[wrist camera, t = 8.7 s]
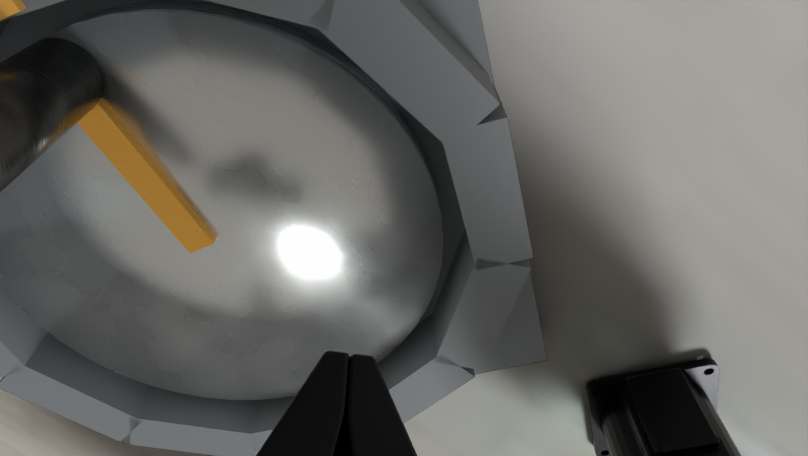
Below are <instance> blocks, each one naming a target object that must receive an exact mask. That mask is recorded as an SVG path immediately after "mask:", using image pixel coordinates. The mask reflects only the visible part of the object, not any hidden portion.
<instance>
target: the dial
mask: <svg viewBox="0 0 808 456" xmlns="http://www.w3.org/2000/svg"><path fill="white" fill-rule="evenodd" d="M442 254H443V230H442V218H441V210H440V202H439V195H438V191H437V187H436V183H435V179H434V174H433V170H432V168H431V166H430V163H429V161H428V158H427V156H426V153H425V151H424V148H423V146H422V144H421V142H420V141H419V139H418V137H417V135H416V134H415V132H414V130H413V129H412V127H411V125H410V123H409V122H408V120H407V119H406V117H405V116H404V115H403V114H402V112H401V111H400V110H399V108H398V107H397V106H396V105H395V103H394V102H393V101H392V100H391V98H390V97H389V96H388V95H387V94H386V93H385V92H384V91H383V90H382V89H381V88H380V87H379V86H378V85H377V84H376V83H375V82H374V81H373V80H372V79H371V78H370V77H369V76H368V75H367V74H366V73H365V72H364V71H363V70H361V69H360V68H359V67H357V66H356V65H355V64H353V63H352V62H351V61H349V60H348V59H347V58H345V57H344V56H343V55H342V54H340V53H339V52H338V51H336V50H335V49H333V48H331V47H329V46H328V45H326V44H324V43H322V42H321V41H319V40H317V39H316V38H314V37H312V36H310V35H309V34H307V33H305V32H303V31H301V30H298V29H296V28H294V27H291V26H289V25H287V24H284V23H282V22H280V21H277V20H275V19H273V18H270V17H267V16H263V15H260V14H256V13H253V12H249V11H246V10H242V9H239V8H235V7H230V6H224V5H217V4H211V3H205V2H198V1H161V0H159V1H151V2H143V3H134V4H126V5H121V6H117V7H114V8H110V9H107V10H103V11H99V12H96V13H92V14H89V15H87V16H85V17H83V18H81V19H78V20H76V21H74V22H72V23H70V24H68V25H65V26H63V27H61V28H59V29H58V30H56V31H54V32H52V33H51V34H49V35H47V36H45V37H44V38H42V39H40V40H38V41H37V42H35V43H33V44H31V45H30V46H28V47H26V48H25V49H23V50H21V51H19V52H18V53H16V54H14V55H12V56H11V57H9V58H7V59H5V60H4V61H2V62H0V285H1V286H2V287H3V288H4V289H5V291H6V292H7V293H8V294H9V295H10V296H11V298H12V299H13V300H14V301H15V302H16V303H17V305H18V306H19V307H20V308H22V309H23V310H24V311H25V312H26V313H27V314H28V315H29V316H30V317H31V318H32V319H33V320H34V321H35V322H36V323H38V324H39V325H40V326H41V327H42V328H44V329H45V330H46V331H48V332H49V333H50V334H52V335H53V336H54V337H55V338H57V339H58V340H59V341H61V342H62V343H64V344H65V345H67V346H68V347H70V348H72V349H73V350H75V351H76V352H78V353H79V354H81V355H82V356H84V357H86V358H88V359H90V360H92V361H94V362H96V363H98V364H99V365H101V366H103V367H105V368H107V369H109V370H112V371H114V372H116V373H119V374H121V375H123V376H126V377H128V378H130V379H133V380H136V381H139V382H142V383H145V384H148V385H151V386H154V387H157V388H161V389H165V390H169V391H173V392H177V393H181V394H187V395H193V396H199V397H205V398H214V399H226V400H264V399H276V398H285V397H290V396H296V394H297V393H298V391H299V390H300V388H301V386H302V385H303V383H304V382H305V380H306V379H307V377H308V376H309V374H310V373H311V371H312V370H313V368H314V367H315V365H316V364H317V362H318V361H319V359H320V358H321V356H322V355H323V353H324V352H325V351H327V350H333V351H340V352H346V353H348V354H349V357H350V355H351V354H354V353H355V354H362V355H369V356H372V357H374V358H375V360H376V362H377V363H378V362H379V361H381V360H382V359H384V358H385V357H386V356H387V355H389V354H390V353H391V352H392V351H393V350H394V349H395V348H396V347H398V346H399V345H400V344H401V343H402V342H403V341H404V340H405V338H406V337H407V336H408V335H409V334H410V333H411V331H412V330H413V329H414V328H415V327H416V325H417V324H418V322H419V321H420V319H421V317H422V316H423V314H424V313H425V311H426V309H427V308H428V305H429V303H430V301H431V298H432V296H433V294H434V291H435V289H436V286H437V282H438V278H439V274H440V270H441V266H442Z"/></svg>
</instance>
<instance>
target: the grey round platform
mask: <svg viewBox="0 0 808 456" xmlns="http://www.w3.org/2000/svg"><path fill="white" fill-rule="evenodd" d="M151 1H159V0H0V62H2V61H4V60H5V59H7V58H9V57H11V56H12V55H14V54H16V53H18V52H19V51H21V50H23V49H25V48H26V47H28V46H30V45H31V44H33V43H35V42H37V41H38V40H40V39H42V38H44V37H45V36H47V35H49V34H51V33H52V32H54V31H56V30H58V29H59V28H61V27H63V26H65V25H68V24H70V23H72V22H74V21H76V20H78V19H81V18H83V17H85V16H87V15H89V14H92V13H96V12H99V11H103V10H107V9H110V8H114V7H117V6H121V5H126V4H134V3H143V2H151ZM161 1H198V2H205V3H211V4H217V5H224V6H230V7H235V8H239V9H242V10H246V11H249V12H253V13H256V14H260V15H263V16H267V17H270V18H273V19H275V20H277V21H280V22H282V23H284V24H287V25H289V26H291V27H294V28H296V29H298V30H301V31H303V32H305V33H307V34H309V35H310V36H312V37H314V38H316V39H317V40H319V41H321V42H322V43H324V44H326V45H328V46H329V47H331V48H333V49H335V50H336V51H338V52H339V53H340V54H342V55H343V56H344V57H345V58H347V59H348V60H349V61H351V62H352V63H353V64H355V65H356V66H357V67H359V68H360V69H361V70H363V71H364V72H365V73H366V74H367V75H368V76H369V77H370V78H371V79H372V80H373V81H374V82H375V83H376V84H377V85H378V86H379V87H380V88H381V89H382V90H383V91H384V92H385V93H386V94H387V95H388V96H389V97H390V98H391V100H392V101H393V102H394V103H395V105H396V106H397V107H398V108H399V110H400V111H401V112H402V114H403V115H404V116H405V117H406V119H407V120H408V122H409V123H410V125H411V127H412V129H413V130H414V132H415V134H416V135H417V137H418V139H419V141H420V142H421V144H422V146H423V148H424V151H425V153H426V156H427V158H428V161H429V163H430V166H431V168H432V170H433V174H434V179H435V183H436V187H437V191H438V195H439V202H440V210H441V218H442V230H443V254H442V266H441V270H440V274H439V278H438V282H437V286H436V289H435V291H434V294H433V296H432V298H431V301H430V303H429V305H428V308H427V309H426V311H425V313H424V314H423V316H422V317H421V319H420V321H419V322H418V324H417V325H416V327H415V328H414V329H413V330H412V331H411V333H410V334H409V335H408V336H407V337H406V338H405V340H404V341H403V342H402V343H401V344H400V345H399V346H398V347H396V348H395V349H394V350H393V351H392V352H391V353H390V354H389V355H387V356H386V357H385V358H384V359H382V360H381V361H379V362H378V363H377V364H378V367H379V369H380V371H381V374H382V376H383V378H384V381H385V383H386V385H387V387H388V390H389V392H390V394H391V397H392V399H393V401H394V404H395V406H396V408H397V410H398V413H399V415H400V417H401V420H402V422H403V423H405V422H406V421H408V420H410V419H411V418H413V417H414V416H416V415H417V414H419V413H420V412H422V411H423V410H425V409H427V408H428V407H430V406H431V405H433V404H434V403H436V402H437V401H439V400H440V399H442V398H443V397H445V396H447V395H448V394H450V393H451V392H453V391H454V390H456V389H457V388H459V387H460V386H462V385H463V384H465V383H467V382H468V381H470V380H471V379H473V378H474V377H475V374H480V373H485V372H490V371H495V370H500V369H505V368H511V367H516V366H521V365H526V364H531V363H536V362H541V361H546V360H547V356H546V350H545V345H544V340H543V335H542V330H541V325H540V319H539V314H538V309H537V304H536V299H535V294H534V288H533V283H532V278H531V273H530V271H531V269H532V268H531V265H530V262H529V259H530V258H533V253H532V248H531V242H530V237H529V232H528V226H527V221H526V215H525V210H524V205H523V199H522V194H521V188H520V183H519V178H518V172H517V167H516V162H515V156H514V151H513V145H512V140H511V135H510V129H509V124H508V118H507V115H506V113H505V111H504V108H503V106H502V103H501V101H500V98H499V96H498V94H497V91H496V89H495V86H494V81H493V76H492V71H491V66H490V61H489V55H488V50H487V45H486V40H485V35H484V30H483V24H482V19H481V14H480V9H479V4H478V0H161ZM3 376H4V377H3ZM0 377H3V378H2V380H1V381H0V389H2V390H4V391H6V392H9V393H11V394H13V395H15V396H18V397H20V398H22V399H24V400H27V401H29V402H31V403H33V404H36V405H38V406H40V407H42V408H45V409H47V410H49V411H51V412H54V413H56V414H58V415H60V416H63V417H65V418H67V419H69V420H72V421H74V422H76V423H78V424H81V425H83V426H85V427H87V428H90V429H92V430H94V431H96V432H99V433H101V434H103V435H105V436H108V437H110V438H112V439H114V440H117V441H119V442H120V441H122V442H123V443H124V444H126V443H130V444H131V445H136V446H144V447H152V448H159V449H167V450H175V451H183V452H191V453H198V454H206V455H214V456H254V453H255V450H256V451H257V452H259V450H260V449H261V447H262V446H263V444H264V443H265V441H266V440H267V438H268V437H269V435H270V434H271V432H272V431H273V429H274V427H275V426H276V424H277V423H278V421H279V420H280V418H281V417H282V415H283V414H284V412H285V411H286V409H287V408H288V406H289V405H290V403H291V402H292V400H293V399H294V397H295V396H290V397H285V398H276V399H264V400H226V399H214V398H205V397H199V396H193V395H187V394H181V393H177V392H173V391H169V390H165V389H161V388H157V387H154V386H151V385H148V384H145V383H142V382H139V381H136V380H133V379H130V378H128V377H126V376H123V375H121V374H119V373H116V372H114V371H112V370H109V369H107V368H105V367H103V366H101V365H99V364H98V363H96V362H94V361H92V360H90V359H88V358H86V357H84V356H82V355H81V354H79V353H78V352H76V351H75V350H73V349H72V348H70V347H68V346H67V345H65V344H64V343H62V342H61V341H59V340H58V339H57V338H55V337H54V336H53V335H52V334H50V333H49V332H48V331H46V330H45V329H44V328H42V327H41V326H40V325H39V324H38V323H36V322H35V321H34V320H33V319H32V318H31V317H30V316H29V315H28V314H27V313H26V312H25V311H24V310H23V309H22V308H20V307H19V306H18V305H17V303H16V302H15V301H14V300H13V299H12V298H11V296H10V295H9V294H8V293H7V292H6V291H5V289H4V288H3V287H2V286H1V285H0Z"/></svg>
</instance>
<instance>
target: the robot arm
mask: <svg viewBox="0 0 808 456" xmlns="http://www.w3.org/2000/svg"><path fill="white" fill-rule="evenodd" d="M718 383H719V367H718V365H717V364H716V362H715V361H714V360H713V359H703V360H698V361H692V362H687V363H682V364H677V365H671V366H666V367H661V368H656V369H650V370H645V371H640V372H635V373H629V374H624V375H619V376H613V377H608V378H603V379H598V380H593V381H591V382H589V383H588V384H587V385H586V394H587V401H588V408H589V415H590V423H591V430H592V437H593V444H594V449H595V452H596V455H597V456H741V454H740V453H739V451H738V449H737V447H736V446H735V444H734V442H733V440H732V439H731V437H730V435H729V433H728V431H727V430H726V428H725V426H724V424H723V423H722V421H721V419H720V417H719V416H718V414H717V398H718ZM256 456H417V454H416V452H415V450H414V447H413V445H412V443H411V440H410V438H409V436H408V433H407V431H406V429H405V427H404V424H403V422H402V420H401V417H400V415H399V413H398V410H397V408H396V406H395V404H394V401H393V399H392V397H391V394H390V392H389V390H388V387H387V385H386V383H385V381H384V378H383V376H382V374H381V371H380V369H379V367H378V364H377V362H376V360H375V358H374V357H372V356H369V355H362V354H355V353H354V354H351V355H350V357H349V354H348V353H346V352H340V351H333V350H327V351H325V352H324V353H323V355H322V356H321V358H320V359H319V361H318V362H317V364H316V365H315V367H314V368H313V370H312V371H311V373H310V374H309V376H308V377H307V379H306V380H305V382H304V383H303V385H302V386H301V388H300V390H299V391H298V393H297V394H296V396H295V397H294V399H293V400H292V402H291V403H290V405H289V406H288V408H287V409H286V411H285V412H284V414H283V415H282V417H281V418H280V420H279V421H278V423H277V424H276V426H275V427H274V429H273V431H272V432H271V434H270V435H269V437H268V438H267V440H266V441H265V443H264V444H263V446H262V447H261V449H260V450H259V452H258V453H257V455H256Z"/></svg>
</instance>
